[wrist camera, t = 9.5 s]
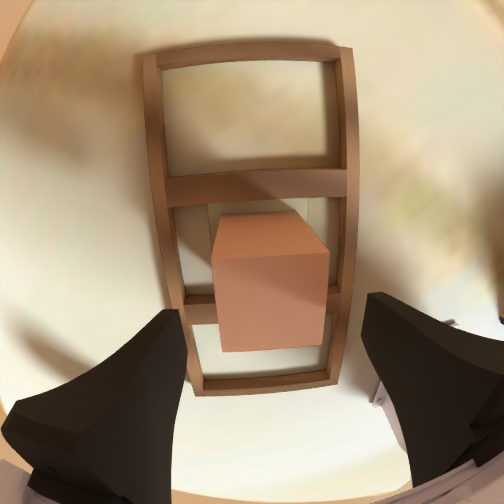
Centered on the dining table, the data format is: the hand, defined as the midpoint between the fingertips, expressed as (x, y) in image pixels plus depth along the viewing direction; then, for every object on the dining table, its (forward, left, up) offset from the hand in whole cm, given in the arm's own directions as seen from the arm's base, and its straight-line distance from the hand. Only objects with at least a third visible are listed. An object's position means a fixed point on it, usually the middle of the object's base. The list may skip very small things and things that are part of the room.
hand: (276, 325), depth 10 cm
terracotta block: (0, 0, -8) cm, 8 cm away
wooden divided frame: (0, 0, -8) cm, 8 cm away
